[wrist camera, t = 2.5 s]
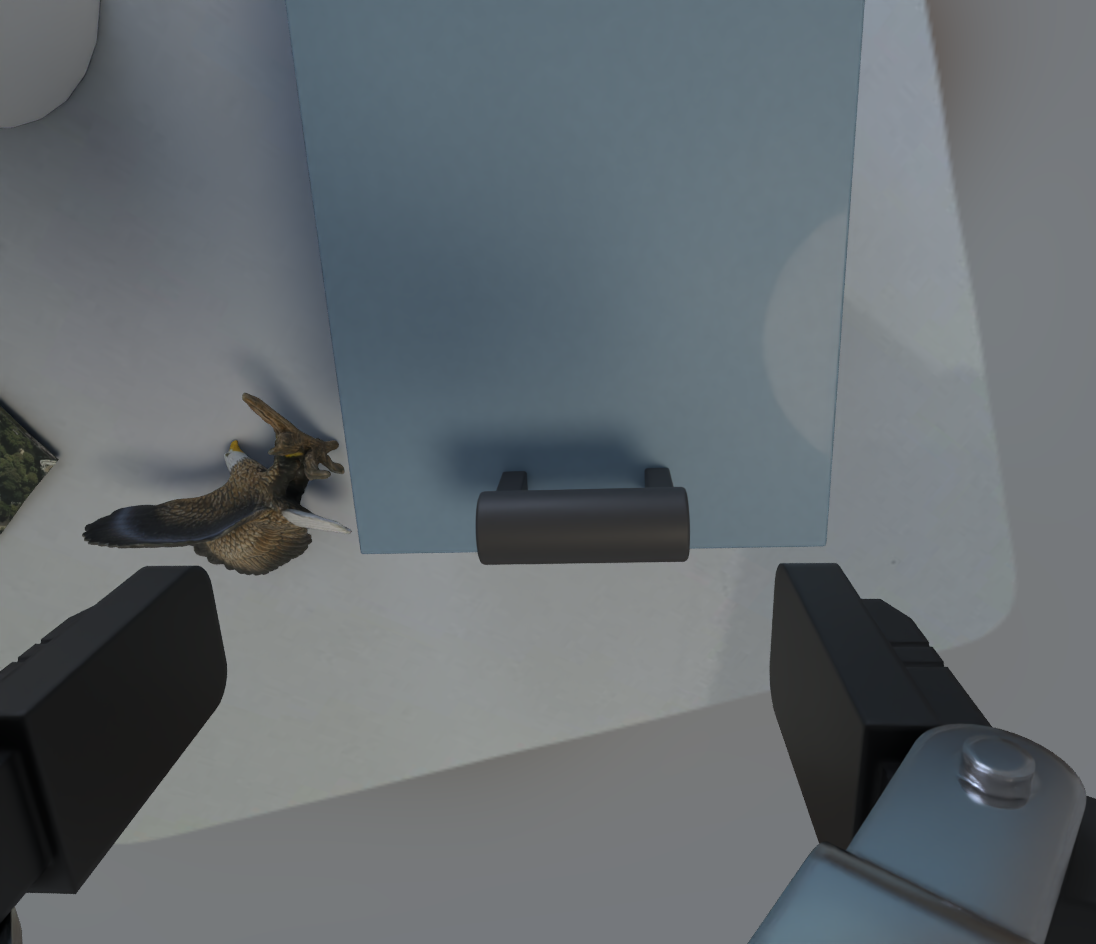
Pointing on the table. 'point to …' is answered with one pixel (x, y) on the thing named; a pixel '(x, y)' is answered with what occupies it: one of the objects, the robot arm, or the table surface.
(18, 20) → the mug
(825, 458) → the box lid
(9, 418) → the eiffel tower figurine
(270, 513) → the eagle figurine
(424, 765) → the table surface
